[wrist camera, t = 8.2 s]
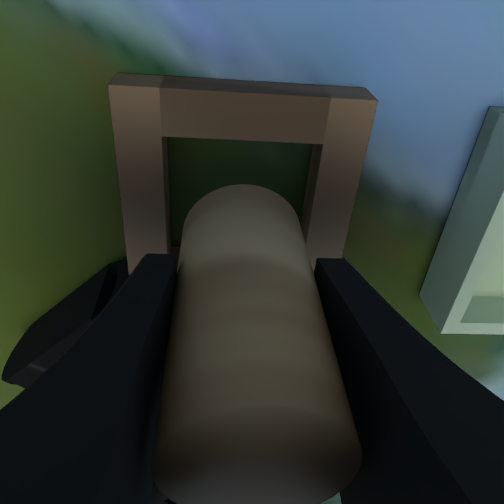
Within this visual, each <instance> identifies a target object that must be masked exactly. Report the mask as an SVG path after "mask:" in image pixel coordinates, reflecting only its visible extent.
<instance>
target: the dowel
mask: <svg viewBox="0 0 504 504" xmlns="http://www.w3.org/2000/svg"><path fill="white" fill-rule="evenodd" d="M361 462H362V449H361V445H360V442H359V438H358V434H357V431H356V427H355V423H354V420H353V416H352V412H351V409H350V405H349V401H348V398H347V394H346V390H345V387H344V383H343V379H342V376H341V372H340V368H339V365H338V361H337V357H336V354H335V350H334V347H333V343H332V339H331V336H330V332H329V328H328V325H327V321H326V317H325V314H324V310H323V306H322V303H321V299H320V295H319V292H318V288H317V284H316V281H315V277H314V273H313V270H312V266H311V262H310V259H309V255H308V251H307V248H306V244H305V240H304V237H303V233H302V229H301V226H300V222H299V219H298V216H297V214H296V212H295V210H294V209H293V208H292V206H291V205H290V204H289V203H288V202H287V201H286V200H285V199H284V198H283V197H282V196H280V195H279V194H277V193H275V192H274V191H272V190H269V189H267V188H264V187H261V186H257V185H250V184H237V185H230V186H225V187H222V188H219V189H216V190H214V191H212V192H210V193H208V194H207V195H205V196H204V197H202V198H201V199H200V200H199V201H198V202H197V203H196V204H195V205H194V206H193V207H192V208H191V210H190V211H189V213H188V215H187V217H186V219H185V222H184V226H183V232H182V240H181V247H180V254H179V262H178V269H177V277H176V284H175V292H174V299H173V306H172V314H171V321H170V329H169V336H168V344H167V351H166V358H165V366H164V373H163V381H162V388H161V396H160V403H159V410H158V418H157V425H156V433H155V440H154V448H153V455H152V462H151V474H152V478H153V480H154V483H155V484H156V486H157V487H158V489H159V490H160V491H161V492H162V493H163V494H164V495H165V496H166V497H168V498H169V499H170V500H172V501H173V502H175V503H177V504H319V503H322V502H324V501H326V500H327V499H329V498H331V497H333V496H334V495H336V494H337V493H339V492H340V491H342V490H343V489H344V488H345V487H346V486H347V485H348V484H349V483H350V482H351V481H352V480H353V479H354V477H355V476H356V474H357V473H358V471H359V469H360V466H361Z"/></svg>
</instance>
